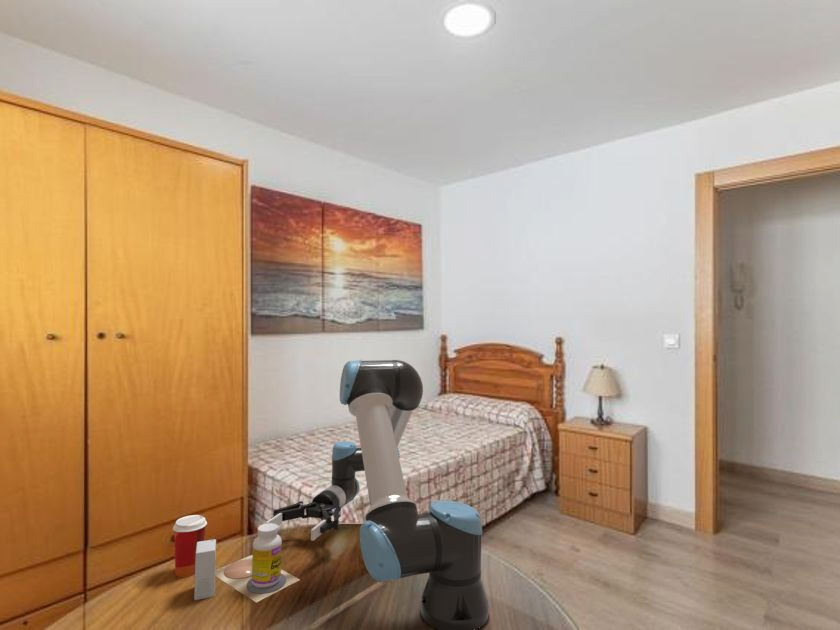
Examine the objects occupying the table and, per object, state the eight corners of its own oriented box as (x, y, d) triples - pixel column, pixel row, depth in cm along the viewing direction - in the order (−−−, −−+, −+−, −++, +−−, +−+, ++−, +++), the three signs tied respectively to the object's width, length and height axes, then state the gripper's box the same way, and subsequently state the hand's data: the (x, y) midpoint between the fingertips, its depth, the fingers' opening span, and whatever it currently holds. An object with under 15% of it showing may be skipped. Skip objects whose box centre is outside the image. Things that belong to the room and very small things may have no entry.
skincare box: (194, 593, 106) (196, 541, 107) (214, 589, 108) (216, 538, 109) (193, 607, 101) (195, 553, 101) (214, 603, 103) (216, 549, 103)
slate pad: (293, 581, 109) (293, 580, 109) (261, 598, 102) (261, 597, 102) (271, 569, 115) (271, 568, 115) (238, 584, 108) (239, 583, 108)
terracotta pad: (269, 568, 115) (269, 566, 115) (236, 583, 108) (236, 581, 108) (249, 557, 121) (249, 555, 121) (216, 570, 114) (217, 569, 114)
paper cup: (195, 565, 119) (197, 511, 119) (211, 575, 114) (213, 519, 115) (164, 578, 112) (166, 521, 113) (179, 589, 108) (182, 529, 108)
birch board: (300, 586, 110) (300, 579, 110) (256, 609, 101) (256, 602, 101) (253, 559, 122) (253, 554, 122) (209, 578, 113) (210, 572, 113)
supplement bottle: (271, 591, 105) (273, 534, 105) (245, 587, 106) (247, 531, 107) (285, 575, 111) (287, 522, 112) (261, 572, 113) (262, 520, 113)
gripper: (365, 520, 134) (331, 553, 114) (292, 509, 141) (247, 538, 121) (366, 494, 134) (332, 523, 114) (293, 485, 141) (248, 510, 121)
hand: (288, 531), depth 117 cm, fingers open, 13 cm apart
